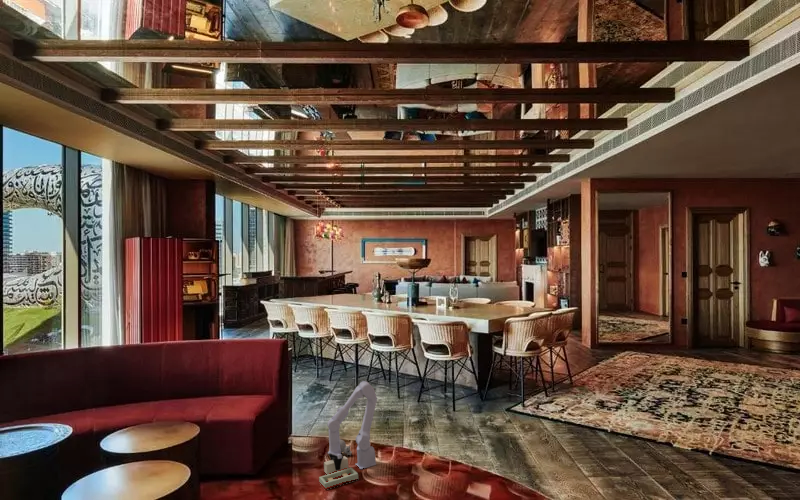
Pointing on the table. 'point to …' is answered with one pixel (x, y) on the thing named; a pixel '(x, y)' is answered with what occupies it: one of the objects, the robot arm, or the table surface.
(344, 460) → the beige rectangular block
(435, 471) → the table surface
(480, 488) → the table surface
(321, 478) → the rack
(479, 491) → the table surface
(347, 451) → the chubby cartoon animal
